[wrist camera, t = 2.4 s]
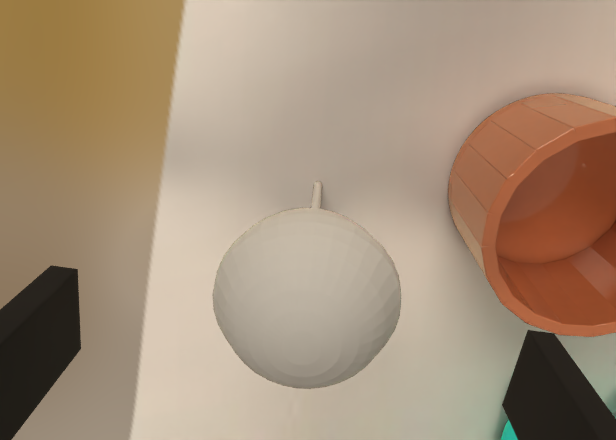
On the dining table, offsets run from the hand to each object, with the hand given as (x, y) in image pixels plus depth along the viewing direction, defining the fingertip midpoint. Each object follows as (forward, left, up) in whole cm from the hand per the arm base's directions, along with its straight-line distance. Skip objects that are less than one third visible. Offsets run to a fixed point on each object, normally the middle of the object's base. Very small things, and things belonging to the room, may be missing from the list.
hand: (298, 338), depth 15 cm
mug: (-10, +9, -14) cm, 20 cm away
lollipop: (0, 0, -15) cm, 15 cm away
